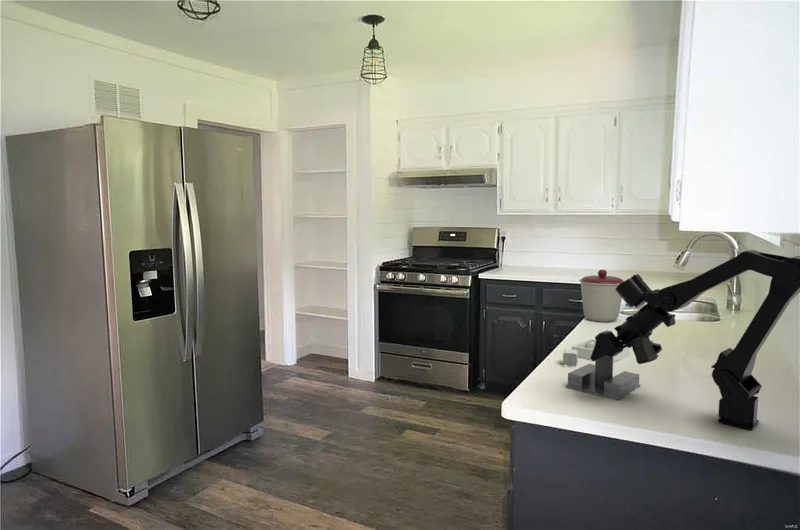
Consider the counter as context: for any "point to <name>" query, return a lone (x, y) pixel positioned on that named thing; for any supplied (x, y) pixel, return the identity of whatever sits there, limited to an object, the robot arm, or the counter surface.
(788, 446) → the counter surface
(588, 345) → the pipe fitting
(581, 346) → the parts tray
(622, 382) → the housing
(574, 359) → the usb wall charger
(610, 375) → the grey and tan cylinder
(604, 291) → the canister
